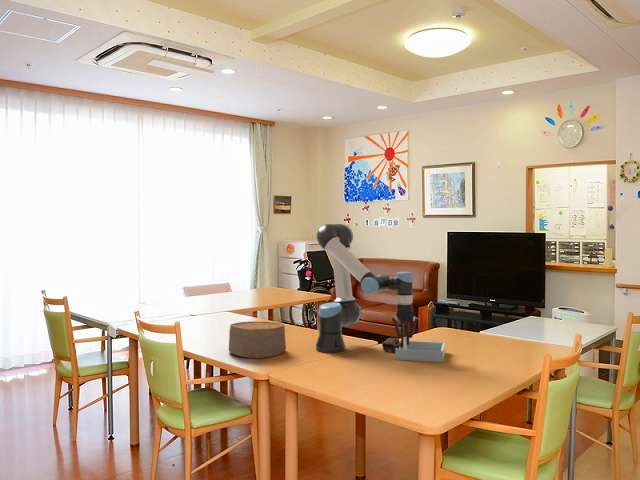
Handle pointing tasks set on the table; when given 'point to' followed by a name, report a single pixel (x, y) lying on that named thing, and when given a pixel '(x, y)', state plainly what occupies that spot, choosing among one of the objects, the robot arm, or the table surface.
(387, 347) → the electronic device
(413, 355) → the walled box
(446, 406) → the table surface
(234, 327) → the container
